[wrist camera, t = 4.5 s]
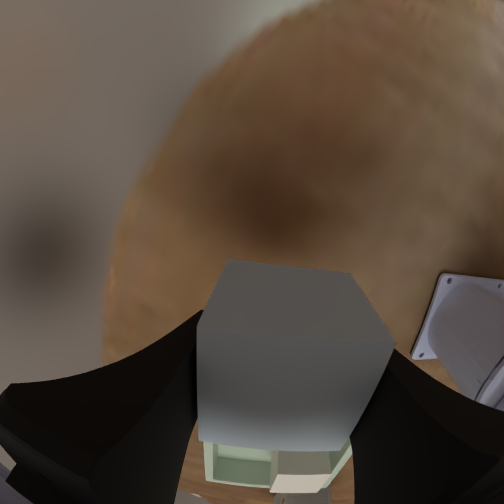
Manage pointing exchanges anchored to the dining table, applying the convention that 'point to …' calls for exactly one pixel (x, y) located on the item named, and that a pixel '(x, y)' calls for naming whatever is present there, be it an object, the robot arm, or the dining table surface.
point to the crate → (254, 464)
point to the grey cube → (286, 358)
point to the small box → (305, 497)
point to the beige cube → (299, 471)
